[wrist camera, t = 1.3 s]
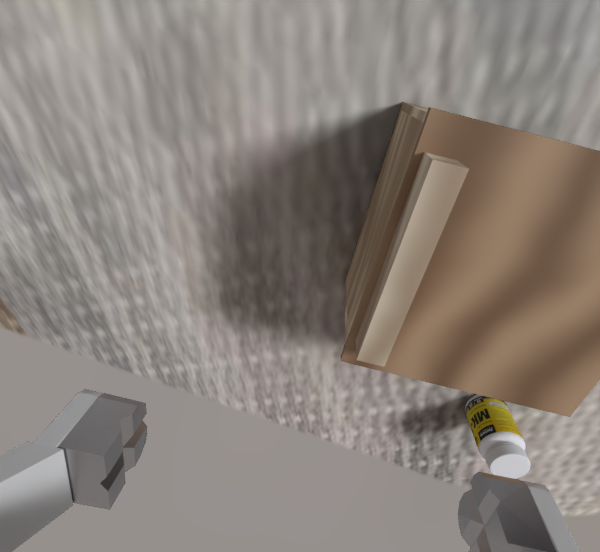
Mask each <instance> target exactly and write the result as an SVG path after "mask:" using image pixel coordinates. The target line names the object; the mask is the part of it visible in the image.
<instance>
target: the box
mask: <svg viewBox="0 0 600 552" xmlns="http://www.w3.org/2000/svg"><path fill="white" fill-rule="evenodd" d="M427 111H428V108H424V107H420V106H416V105H412V104H408V103H404V102H402V105H401V108H400V111H399V114H398V117H397V121H396V124H395V127H394V130H393V133H392V136H391V139H390V142H389V145H388V149H387V152H386V155H385V158H384V161H383V164H382V167H381V170H380V173H379V176H378V180H377V183H376V186H375V189H374V192H373V195H372V198H371V201H370V204H369V208H368V211H367V214H366V217H365V220H364V223H363V226H362V229H361V232H360V236H359V239H358V242H357V245H356V248H355V251H354V254H353V257H352V260H351V263H350V267H349V270H348V273H347V276H346V279H345V343H346V340H347V337H348V334H349V332H350V329H351V326H352V323H353V320H354V317H355V315H356V312H357V309H358V306H359V303H360V300H361V298H362V295H363V292H364V289H365V286H366V284H367V281H368V278H369V275H370V272H371V269H372V267H373V264H374V261H375V258H376V255H377V252H378V250H379V247H380V244H381V241H382V238H383V235H384V233H385V230H386V227H387V224H388V221H389V218H390V216H391V213H392V210H393V207H394V204H395V201H396V199H397V196H398V193H399V190H400V187H401V185H402V182H403V179H404V176H405V173H406V170H407V168H408V165H409V162H410V159H411V156H412V153H413V151H414V148H415V145H416V142H417V139H418V136H419V134H420V131H421V128H422V125H423V122H424V119H425V117H426V114H427Z"/></svg>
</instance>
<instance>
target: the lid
mask: <svg viewBox="0 0 600 552" xmlns="http://www.w3.org/2000/svg"><path fill="white" fill-rule="evenodd" d="M341 361H343V362H347V363H351V364H355V365H359V366H363V367H367V368H371V369H376V370H380V371H384V372H388V373H392V374H396V375H400V376H404V377H408V378H412V379H416V380H421V381H425V382H429V383H433V384H437V385H441V386H445V387H449V388H453V389H457V390H462V391H466V392H470V393H474V394H478V395H482V396H486V397H490V398H494V399H498V400H502V401H507V402H511V403H515V404H519V405H523V406H527V407H531V408H535V409H539V410H543V411H547V412H552V413H556V414H560V415H564V416H568V417H570V416H571V415H572V414H573V412H574V411H575V410H576V409H577V407H578V406H579V405H580V403H581V402H582V401H583V400H584V398H585V397H586V396H587V395H588V393H589V392H590V391H591V389H592V388H593V387H594V386H595V384H596V383H597V382H598V381H599V379H600V151H597V150H593V149H589V148H585V147H581V146H578V145H574V144H570V143H566V142H562V141H558V140H554V139H550V138H546V137H543V136H539V135H535V134H531V133H527V132H523V131H519V130H515V129H511V128H507V127H504V126H500V125H496V124H492V123H488V122H484V121H480V120H476V119H472V118H469V117H465V116H461V115H457V114H453V113H449V112H445V111H441V110H437V109H434V108H430V107H429V108H428V111H427V114H426V117H425V119H424V122H423V125H422V128H421V131H420V134H419V136H418V139H417V142H416V145H415V148H414V151H413V153H412V156H411V159H410V162H409V165H408V168H407V170H406V173H405V176H404V179H403V182H402V185H401V187H400V190H399V193H398V196H397V199H396V201H395V204H394V207H393V210H392V213H391V216H390V218H389V221H388V224H387V227H386V230H385V233H384V235H383V238H382V241H381V244H380V247H379V250H378V252H377V255H376V258H375V261H374V264H373V267H372V269H371V272H370V275H369V278H368V281H367V284H366V286H365V289H364V292H363V295H362V298H361V300H360V303H359V306H358V309H357V312H356V315H355V317H354V320H353V323H352V326H351V329H350V332H349V334H348V337H347V340H346V343H345V346H344V349H343V351H342V354H341Z"/></svg>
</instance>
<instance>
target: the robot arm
mask: <svg viewBox="0 0 600 552" xmlns="http://www.w3.org/2000/svg"><path fill="white" fill-rule="evenodd" d="M145 415H146V404H145V403H143V402H139V401H135V400H131V399H127V398H122V397H118V396H114V395H110V394H106V393H100V392H96V391H92V390H87V389H84V390H82V391H80V392H79V393H77V394H76V395H75V397H74V398H73V399H72V400H71V401H70V402H69V403H68V404H67V406H66V407H65V408H64V409H63V410H62V411H61V412H60V413H59V415H58V416H57V417H56V418H55V419H54V420H53V421H52V422H51V423H50V425H49V426H48V427H47V428H46V429H45V430H44V431H43V432H42V434H41V435H40V436H39V437H38V438H37V439H36V440H35V442H28V441H27V442H25V443H23V444H21V445H19V446H17V447H14V448H12V449H10V450H8V451H6V452H4V453H2V454H0V552H12V551H13V550H15V549H16V548H17V547H18V546H20V545H21V544H23V543H24V542H25V541H27V540H28V539H29V538H31V537H32V536H33V535H35V534H36V533H37V532H38V531H40V530H41V529H42V528H44V527H45V526H46V525H48V524H49V523H50V522H51V521H53V520H54V519H56V518H57V517H58V516H60V515H61V514H62V513H64V512H65V511H66V510H68V509H69V508H70V507H72V506H73V503H77V504H82V505H88V506H93V507H99V508H104V509H111V507H112V505H113V503H114V502H115V500H116V498H117V497H118V495H119V493H120V491H121V490H122V488H123V486H124V484H125V472H126V471H128V470H129V469H131V468H132V467H134V466H135V465H136V463H137V461H138V459H139V458H140V456H141V454H142V450H143V448H144V445H145V443H146V437H147V426H146V424H145V423H144V422H143V421H142V420H143V418H144V416H145ZM470 482H471V485H472V489H471V490H469V491H467V492H465V493H464V494H463V496H462V498H461V500H460V502H459V509H458V520H459V528H460V531H461V536H462V537H463V539H464V540H465V541H466V542H467V544H468V545H469V546H470V547H471V548H470V550H469V552H580V551H579V549H578V547H577V545H576V543H575V541H574V539H573V537H572V535H571V534H570V531H569V529H568V527H567V525H566V523H565V521H564V519H563V517H562V515H561V513H560V511H559V509H558V507H557V505H556V503H555V501H554V499H553V497H552V495H551V493H550V491H549V490H548V489H547V488H546V487H545V485H540V484H536V483H531V482H526V481H520V480H518V479H513V478H508V477H503V476H497V475H492V474H487V473H482V472H478V473H476V474H474V476H473V478H472V479H471V481H470Z"/></svg>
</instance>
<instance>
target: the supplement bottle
mask: <svg viewBox="0 0 600 552" xmlns="http://www.w3.org/2000/svg"><path fill="white" fill-rule="evenodd" d="M465 413H466V416H467V418H468V421H469V424H470V427H471V430H472V432H473V436H474V438H475V441H476V444H477V447H478V449H479V452H480V454H481V455H482V457H483V458H484V459H485V460H486V463H487V465H488V467H489V469H490V471H491V473H492V474H493V475H497V476H503V477H508V478H513V479H515V478H519V477H521V476H523V475H525V474H526V473H527V472H528V471H529V469H530V461H529V459H528V457H527V455H526V453H525V442H524V440H523V438H522V436H521V434H520V432H519V430H518V428H517V426H516V423H515V421H514V419H513V417H512V415H511V413H510V411H509V409H508V407H507V405H506V403H505V401H502V400H498V399H494V398H490V397H486V396H482V395H478V394H477V395H475V396H473V397H471V398H470V399H469V400H468V401H467V403H466V406H465Z"/></svg>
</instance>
